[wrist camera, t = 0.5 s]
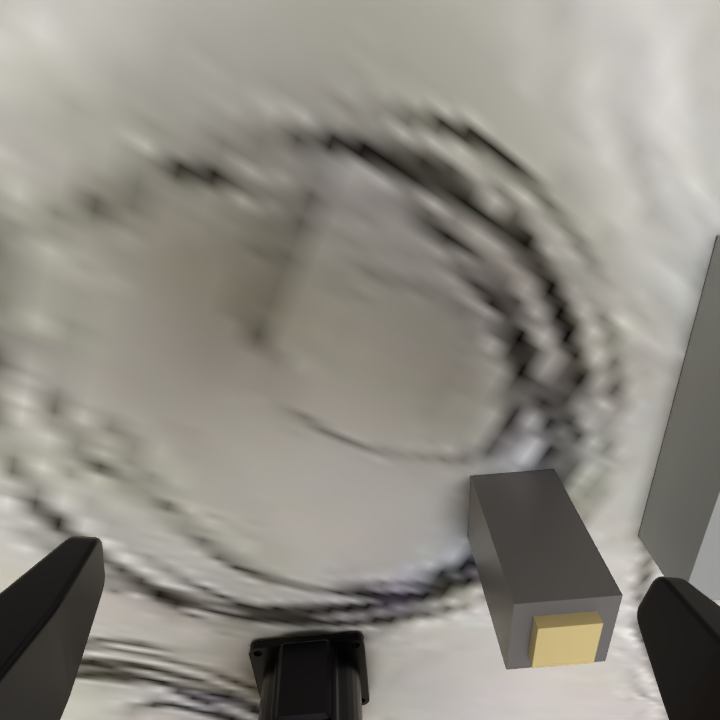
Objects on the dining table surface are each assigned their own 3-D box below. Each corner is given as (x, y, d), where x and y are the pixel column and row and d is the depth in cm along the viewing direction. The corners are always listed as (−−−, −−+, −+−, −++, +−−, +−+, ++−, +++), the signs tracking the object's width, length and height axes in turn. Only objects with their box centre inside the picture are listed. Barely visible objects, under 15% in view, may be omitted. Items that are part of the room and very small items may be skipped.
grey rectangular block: (545, 529, 28) (610, 673, 22) (467, 535, 28) (509, 681, 22) (553, 468, 26) (628, 607, 20) (470, 475, 26) (518, 616, 20)
